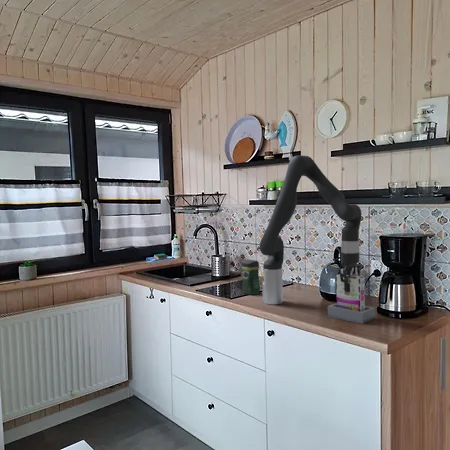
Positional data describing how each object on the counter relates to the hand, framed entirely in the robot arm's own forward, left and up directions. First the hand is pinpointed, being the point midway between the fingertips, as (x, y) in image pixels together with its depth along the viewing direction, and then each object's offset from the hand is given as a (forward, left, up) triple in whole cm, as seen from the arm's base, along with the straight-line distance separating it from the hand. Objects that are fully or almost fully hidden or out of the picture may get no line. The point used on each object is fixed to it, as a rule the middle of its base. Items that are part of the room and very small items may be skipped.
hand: (350, 290), depth 179 cm
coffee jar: (-63, +5, -12) cm, 65 cm away
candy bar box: (0, 0, -10) cm, 10 cm away
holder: (0, 0, -12) cm, 12 cm away
